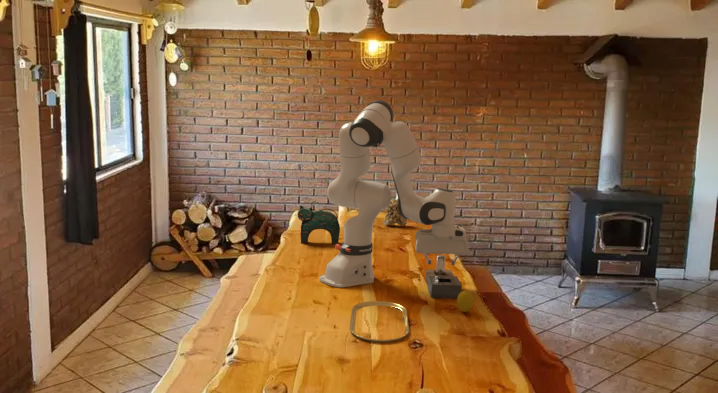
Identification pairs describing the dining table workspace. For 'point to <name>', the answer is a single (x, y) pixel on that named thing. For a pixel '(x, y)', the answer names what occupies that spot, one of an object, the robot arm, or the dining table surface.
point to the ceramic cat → (318, 223)
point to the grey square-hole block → (444, 286)
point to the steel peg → (440, 265)
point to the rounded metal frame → (377, 303)
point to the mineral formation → (394, 214)
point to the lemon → (465, 301)
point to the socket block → (433, 273)
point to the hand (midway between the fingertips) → (440, 264)
